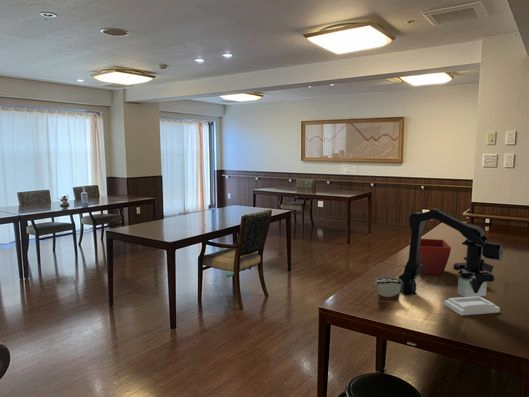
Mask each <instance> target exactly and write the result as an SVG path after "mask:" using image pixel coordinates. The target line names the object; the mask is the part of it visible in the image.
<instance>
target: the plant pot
mask: <svg viewBox="0 0 529 397" xmlns="http://www.w3.org/2000/svg"><path fill="white" fill-rule="evenodd" d="M410 240H411V237H410V238H409V239H408V243H409V244H410ZM451 250H452V247H451V246H450V245H449V244H448V243H447V241H446V240H444V239H439V238H438V239H436V238H435V239H433V238H432V239H431V238H421V243H420V253H419V263H420V264H423V267H422V273H421V274H420V275H432V276H433V275H434V276H436V275H437V276H438V275H439V276H442V275H443V273H444V271H445V269H446V266H447V264H448V261H449V259H450V254H451Z"/></svg>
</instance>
